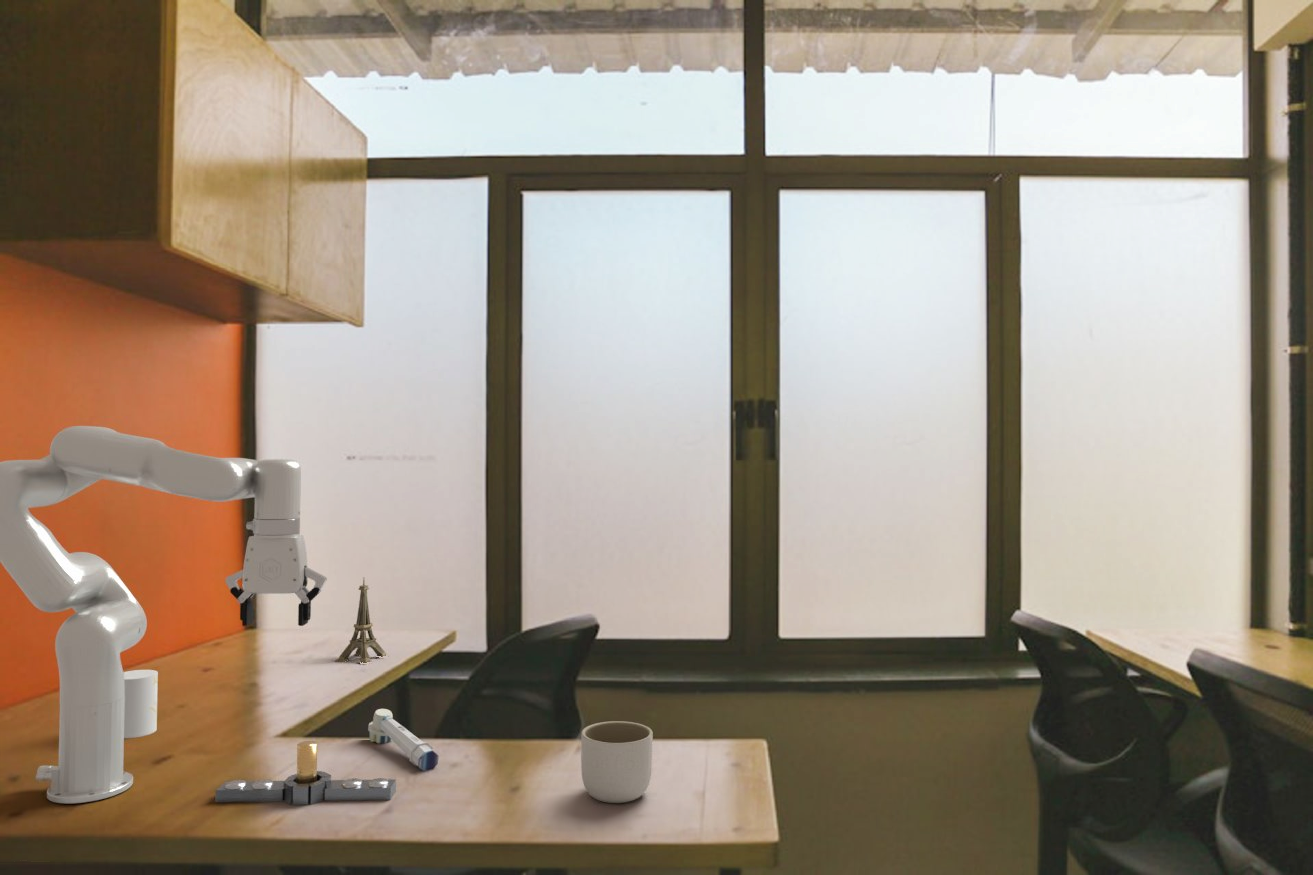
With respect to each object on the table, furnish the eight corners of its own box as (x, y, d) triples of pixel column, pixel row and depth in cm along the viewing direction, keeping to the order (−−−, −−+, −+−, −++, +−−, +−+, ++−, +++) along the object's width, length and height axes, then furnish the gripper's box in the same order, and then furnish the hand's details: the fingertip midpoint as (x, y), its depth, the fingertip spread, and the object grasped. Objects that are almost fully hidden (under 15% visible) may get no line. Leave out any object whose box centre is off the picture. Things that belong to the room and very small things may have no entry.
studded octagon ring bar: (211, 805, 147) (211, 787, 147) (229, 789, 154) (229, 772, 154) (388, 803, 148) (388, 785, 149) (397, 787, 156) (398, 770, 156)
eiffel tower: (359, 653, 257) (360, 567, 257) (389, 656, 253) (391, 569, 253) (334, 661, 247) (336, 572, 247) (366, 665, 243) (367, 574, 243)
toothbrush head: (416, 753, 162) (365, 704, 182) (414, 787, 163) (363, 735, 182) (443, 747, 166) (389, 699, 185) (440, 781, 166) (387, 730, 185)
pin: (293, 800, 149) (294, 747, 150) (300, 792, 153) (300, 740, 153) (312, 800, 150) (313, 746, 150) (318, 792, 153) (319, 740, 153)
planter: (658, 785, 158) (659, 723, 158) (642, 812, 146) (643, 746, 146) (592, 778, 161) (593, 718, 161) (570, 804, 149) (571, 739, 149)
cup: (162, 732, 184) (163, 674, 184) (118, 741, 178) (119, 681, 178) (149, 723, 190) (150, 667, 190) (106, 731, 184) (107, 674, 184)
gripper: (218, 530, 153) (216, 628, 153) (320, 530, 154) (318, 628, 154) (236, 526, 160) (234, 620, 160) (333, 526, 162) (331, 620, 161)
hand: (275, 624), depth 157 cm, fingers open, 9 cm apart
